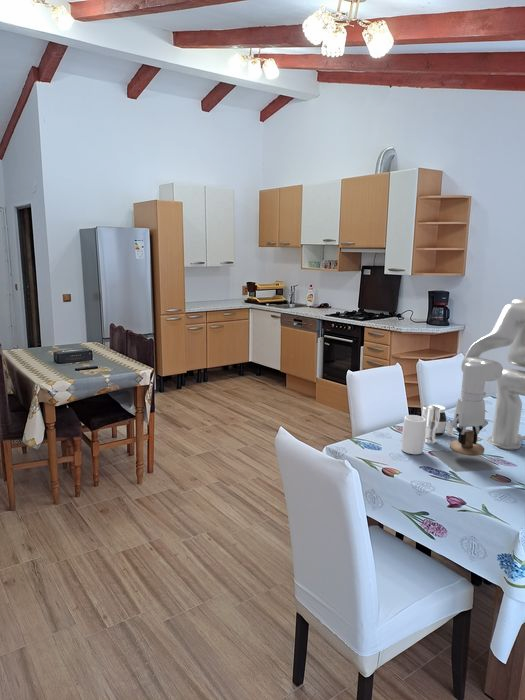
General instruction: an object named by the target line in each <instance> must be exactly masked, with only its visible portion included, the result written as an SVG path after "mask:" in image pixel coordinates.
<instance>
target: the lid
mask: <svg viewBox="0 0 525 700" xmlns="http://www.w3.org/2000/svg"><path fill="white" fill-rule="evenodd" d="M464 434H465V435H466V437H465V444H464V445H462V444H461V443H459V441H458V439H457V440H452V441H451V442H450V443H449V448H450V451H454V452H456V453H459V454H463V455H469V456H477V455H481V456H482V455H483V454H484V453H485V447H484V446H483V445H482V444H480V443H477V442H476V444H473V440H474V431H472V429H468V428H466V429H465V433H464Z"/></svg>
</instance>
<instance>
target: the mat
mask: <svg viewBox="0 0 525 700" xmlns="http://www.w3.org/2000/svg"><path fill="white" fill-rule="evenodd" d="M430 453H431V454H432V455H434V456H435V457H436V458H437V459H439V460H440V461H441V462H443V463H444V464H445V465H446V466H447V467H448V468H450V469H451V470H452V471H453V472H454V473H455V472H471V471H472V472H474V471H477V472H478V471H492V470H493V471H494V470H501V468H500V467H499V466H497V465H495V464H494V463H493V462H491V461H489V460H488V459H487V458H486V457H484V456H482V454H481V455H477V456H469V455H463V454H459V453H456V452H454V451H453V450H440V451H439V450H436V451H435V450H434V451H430Z"/></svg>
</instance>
